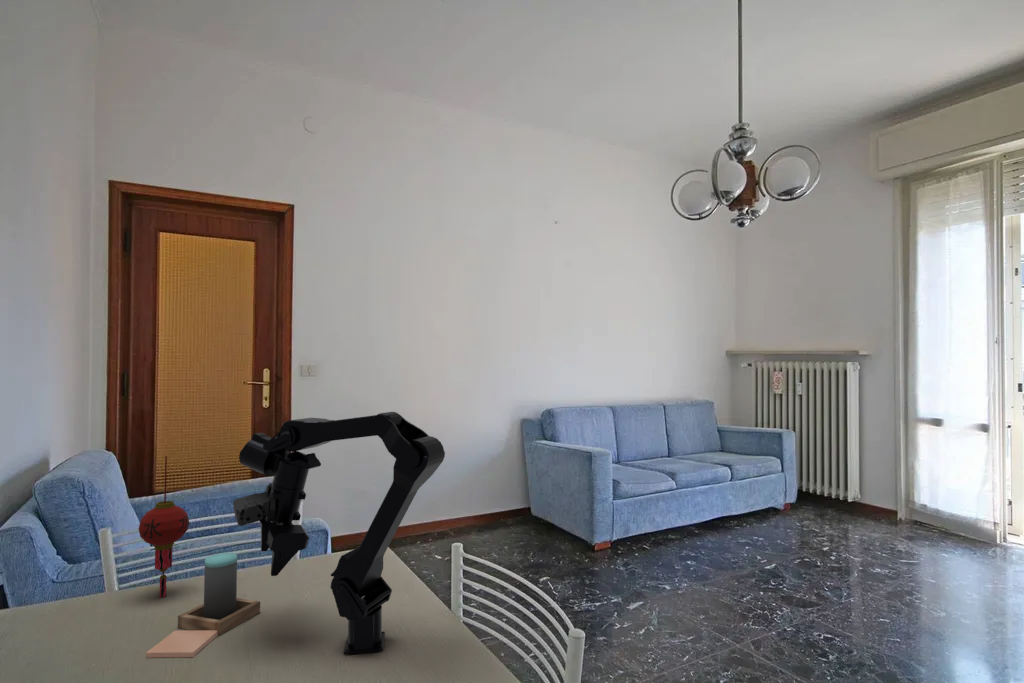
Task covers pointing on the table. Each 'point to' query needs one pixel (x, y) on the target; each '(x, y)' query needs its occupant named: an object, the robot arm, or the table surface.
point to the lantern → (163, 532)
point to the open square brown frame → (198, 622)
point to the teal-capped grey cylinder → (220, 585)
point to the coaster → (182, 644)
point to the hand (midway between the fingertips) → (268, 562)
